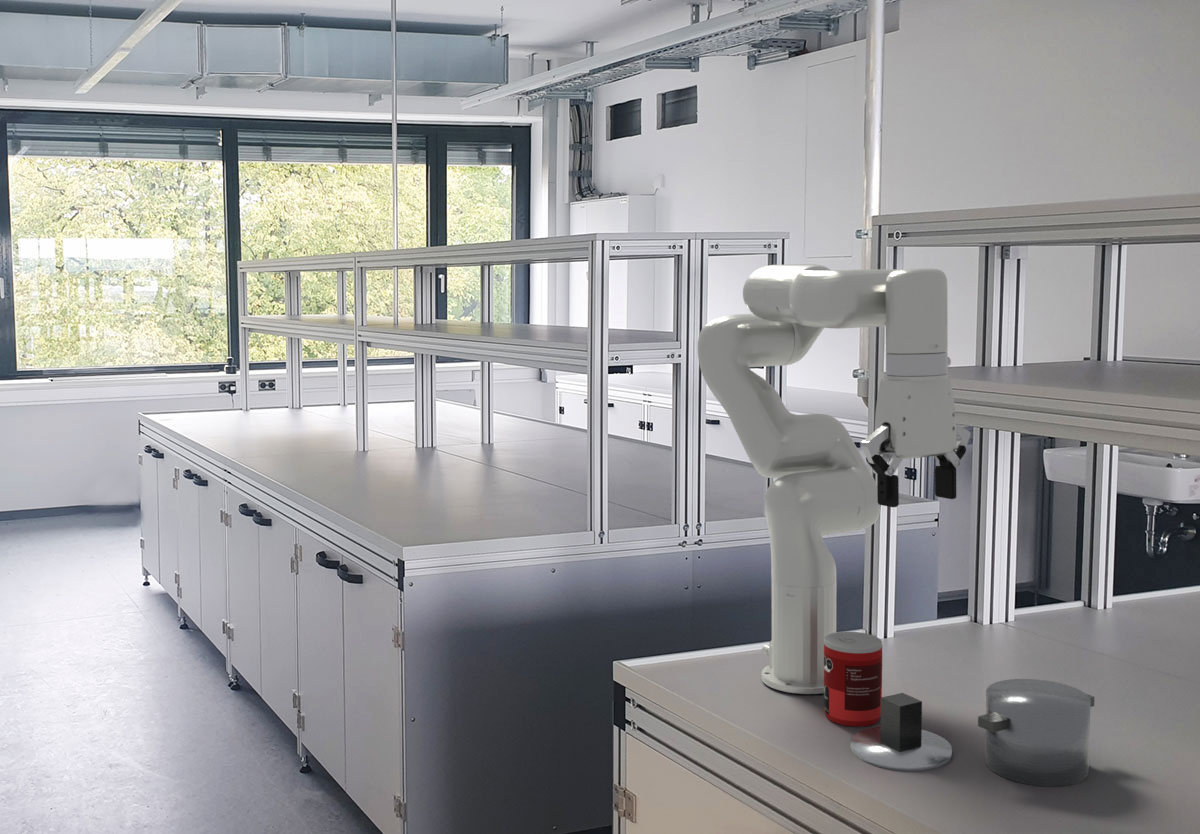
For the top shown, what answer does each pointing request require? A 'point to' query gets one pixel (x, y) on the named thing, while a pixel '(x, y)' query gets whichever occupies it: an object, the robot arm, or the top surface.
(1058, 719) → the pot
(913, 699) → the lid
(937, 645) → the top surface
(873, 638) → the canned food
